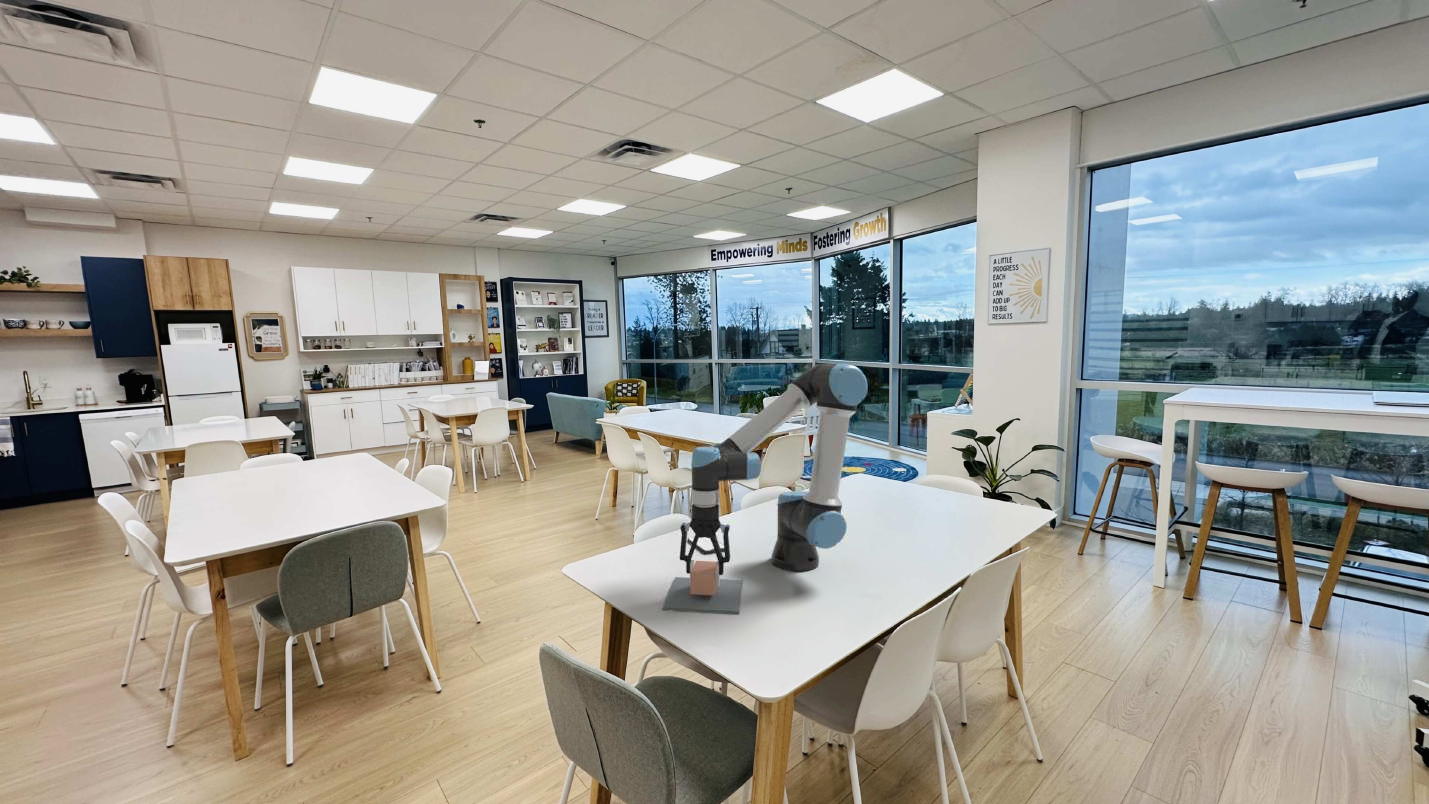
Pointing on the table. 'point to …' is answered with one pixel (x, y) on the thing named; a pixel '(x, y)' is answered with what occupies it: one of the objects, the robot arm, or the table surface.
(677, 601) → the mat
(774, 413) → the robot arm
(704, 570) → the card box
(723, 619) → the table surface
